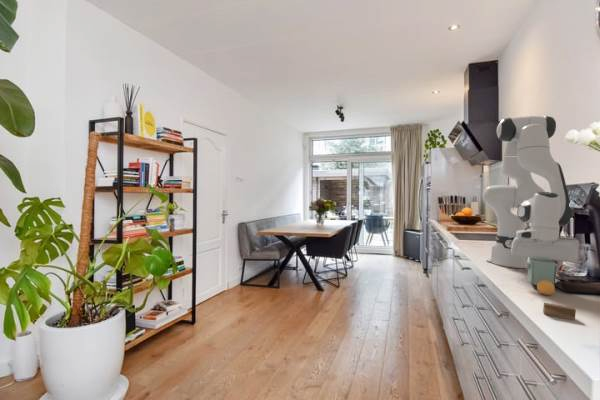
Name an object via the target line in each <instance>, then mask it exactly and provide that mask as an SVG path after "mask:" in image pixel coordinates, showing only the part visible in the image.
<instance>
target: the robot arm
mask: <svg viewBox="0 0 600 400" xmlns="http://www.w3.org/2000/svg"><path fill="white" fill-rule="evenodd" d="M556 130H557V122H556V119H555V118H554V117H552V116H550V115H549V116H547V115H541V116H540V115H539V116H538V115H537V116H536V115H525V116H516V117H506V118H504V119H501V120H500V121H499V122H498V125H497V126H496V136H497V139H499V140H500V141H502V142H505V144H504V148H503V154H502V156H503V157H502V167H501V168H502V169H501V171H502V174H503V175H504V176H506V177H508V178H509V179H511V180H514V181H515V185H512V184H511V185H508V184H496V185H490V186H487V187H486V188H485V189H484V191H483V192H482V199H483V202H484V203H485V205H487V206H488V207H489V208H490V209H491V210H492V211H493V212H494V213H495V214H494V215H495V216H496V220H497V234H496V235H495V243H494V244H493V245H491V253H490V257H489V258H486V262H488V263H493V264H494V265H497V266H502V267H508V268H514V269H515V268H517V269H521V268H522V269H524V268H525V269H527V270H528V269H530V268H531V264H528V263H529V257H531V258H539V259H548V260H556V261H557V263H558V264H557V267H556V272H557V273H558V268H560V267H561V265H562V266H563V264H564V262H566V263H576V262H577V261H578V249H579V247H580V241H579V240H578V239H577V238H575V237H573V236H563V235H560V229H561V227H565V226H568V224H569V221H570V218H572V217H573V216H574V217H575V215H574V213H575V211H574V212H573V210H572V209H571V208H570V207H569V203H570V202H571V200H570V196H569V191H568V187H567V183H566V179H565V176H564V172H563V168H562V166H561V165H560V163H559V162H557V161H556V160H555V159H554V158H553V156H552V154H551V149H550V148H551V146H550V140H549V139H551V138H552V137H553V136H554V135H555V133H556ZM531 173H532V174H535V175H538V176H539V177H542V178H544V179H546V181H547V182H548V184H549V187H550V188H549V189H550V191H549V192H548V191H545V189H544V188H542V187H541V186H540V185H538V184H537V183H536V181H535V180H534V179H533V177H532V174H531ZM511 209H517V211H516V212H517V213H516V214H517V215H516V214H515V213H513V212H512V210H511ZM526 224H530V226H529V228H526Z"/></svg>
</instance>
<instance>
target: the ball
mask: <svg viewBox="0 0 600 400" xmlns="http://www.w3.org/2000/svg"><path fill="white" fill-rule="evenodd" d="M555 287H556V286H555ZM555 287H554V285H553V284H552V283H551V282H549V281H546V280H543V281H540V282H539V283H538V284H537V285H536V289H537V290H538V292H539V293H540V294H542V295H544V296H549V295H552V294H553V293H555V289H556V288H555Z"/></svg>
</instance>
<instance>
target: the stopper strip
mask: <svg viewBox="0 0 600 400" xmlns="http://www.w3.org/2000/svg"><path fill="white" fill-rule="evenodd" d="M542 309H543V310H542V312H543V315H545V316H551V317H557V318H560V319H566V320H573V321H576V313H577V312H576V311H577V309H576V308H575V307H572V306H567V305H561V304H557V303H550V302H549V303H548V302H543V308H542Z"/></svg>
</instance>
